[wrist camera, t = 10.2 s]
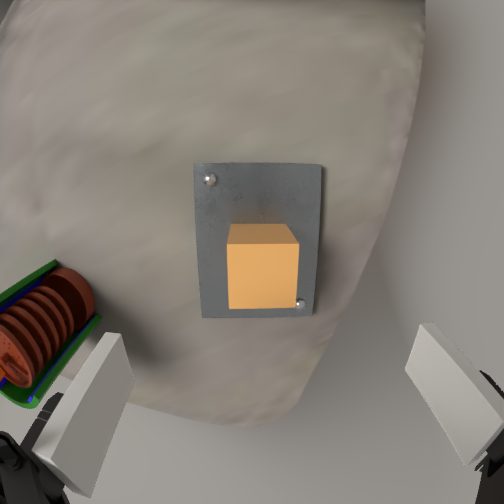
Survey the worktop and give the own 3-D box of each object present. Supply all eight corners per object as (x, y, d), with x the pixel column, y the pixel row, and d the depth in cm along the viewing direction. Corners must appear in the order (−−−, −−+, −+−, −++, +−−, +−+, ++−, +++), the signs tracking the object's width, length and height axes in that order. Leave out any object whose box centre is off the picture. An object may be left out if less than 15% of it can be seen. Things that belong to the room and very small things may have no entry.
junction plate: (195, 164, 26) (183, 164, 21) (318, 164, 26) (336, 164, 21) (203, 313, 31) (196, 341, 25) (310, 311, 31) (321, 338, 26)
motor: (111, 300, 30) (19, 421, 11) (88, 342, 32) (17, 450, 13) (52, 249, 28) (-66, 326, 9) (35, 297, 30) (-54, 378, 11)
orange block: (231, 224, 27) (226, 244, 20) (285, 223, 27) (299, 243, 20) (232, 275, 28) (228, 308, 22) (283, 274, 28) (295, 307, 22)
